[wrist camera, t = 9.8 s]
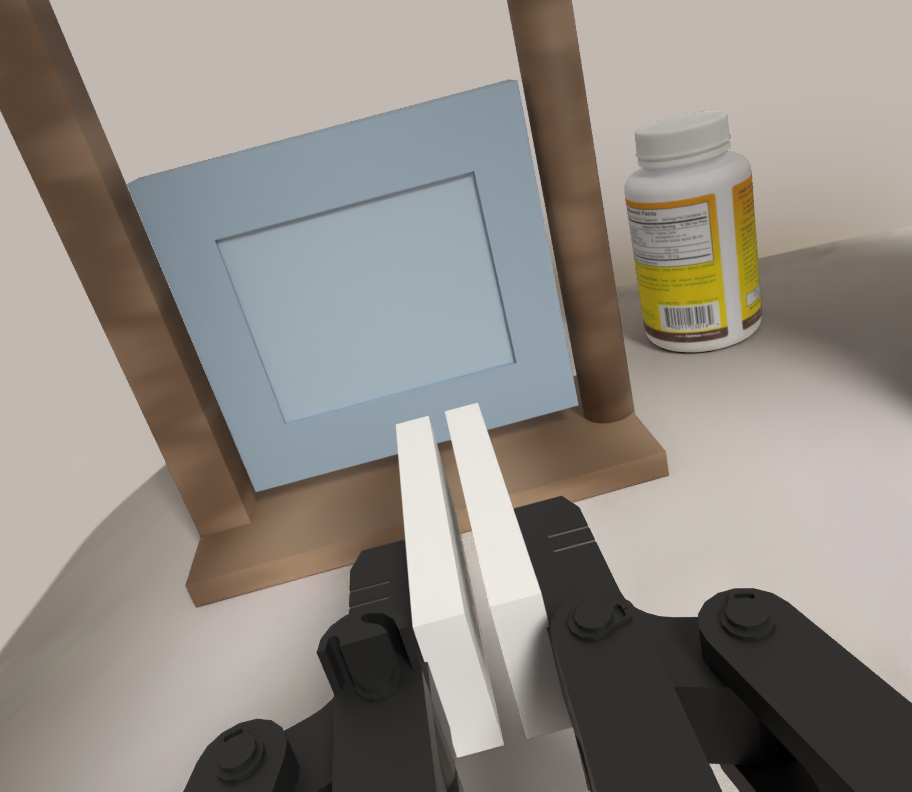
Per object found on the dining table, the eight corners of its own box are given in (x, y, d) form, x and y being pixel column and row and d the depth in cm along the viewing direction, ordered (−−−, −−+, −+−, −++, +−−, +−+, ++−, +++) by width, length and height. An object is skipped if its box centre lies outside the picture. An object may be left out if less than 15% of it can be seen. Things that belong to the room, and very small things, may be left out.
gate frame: (605, 387, 34) (507, -191, 25) (674, 473, 27) (572, -298, 18) (229, 491, 34) (-11, -57, 25) (196, 607, 27) (-162, -110, 17)
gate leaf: (568, 390, 30) (509, 79, 25) (578, 405, 29) (517, 80, 24) (260, 473, 30) (139, 178, 25) (255, 492, 29) (126, 184, 24)
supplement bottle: (725, 302, 40) (707, 102, 36) (786, 334, 35) (775, 106, 30) (627, 331, 39) (597, 133, 35) (675, 368, 34) (648, 142, 30)
